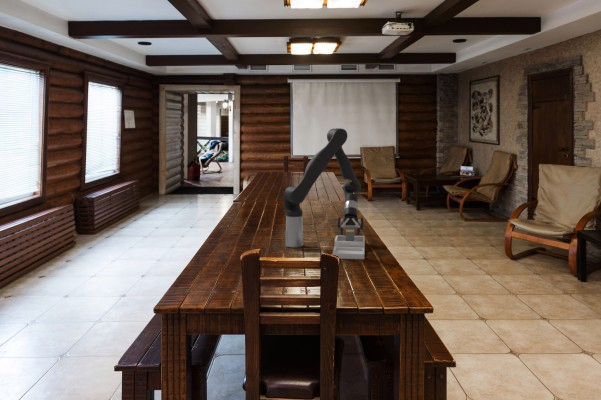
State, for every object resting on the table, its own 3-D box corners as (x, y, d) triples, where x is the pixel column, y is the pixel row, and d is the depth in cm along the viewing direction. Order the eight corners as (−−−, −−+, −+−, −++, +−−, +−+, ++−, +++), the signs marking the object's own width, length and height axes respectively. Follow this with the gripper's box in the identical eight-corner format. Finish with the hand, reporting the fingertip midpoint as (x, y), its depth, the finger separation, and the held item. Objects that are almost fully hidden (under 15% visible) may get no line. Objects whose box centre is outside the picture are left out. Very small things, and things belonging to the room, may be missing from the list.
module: (345, 246, 269) (345, 227, 267) (346, 244, 274) (346, 225, 272) (353, 247, 268) (354, 227, 266) (354, 244, 273) (354, 225, 271)
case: (334, 251, 264) (334, 242, 263) (336, 244, 279) (336, 235, 278) (364, 252, 262) (364, 242, 261) (364, 244, 277) (364, 236, 276)
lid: (332, 258, 250) (332, 253, 250) (334, 251, 264) (334, 246, 263) (364, 259, 248) (364, 254, 247) (364, 252, 262) (364, 247, 261)
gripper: (338, 206, 277) (336, 230, 268) (363, 206, 275) (363, 231, 266) (338, 213, 283) (337, 237, 274) (363, 214, 281) (363, 238, 272)
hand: (350, 234), depth 270 cm, fingers open, 8 cm apart
